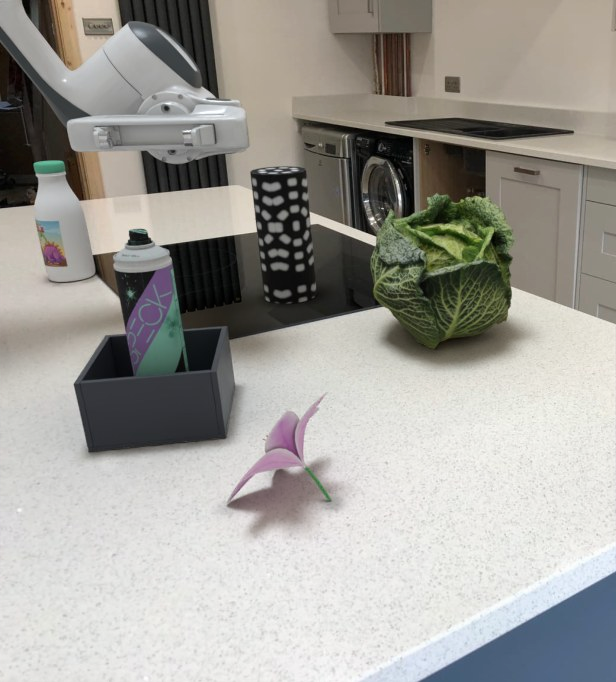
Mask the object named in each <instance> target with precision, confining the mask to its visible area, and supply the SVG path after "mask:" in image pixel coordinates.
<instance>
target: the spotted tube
mask: <svg viewBox="0 0 616 682" xmlns="http://www.w3.org/2000/svg"><path fill="white" fill-rule="evenodd" d="M249 172H250V173H249V174H250V182H251V191H252V201H253V209H254V210H253V211H254V217H255V218H254V219H255V227H256V236H257V244H258V246H257V247H258V253H259V262H260V263H259V264H260V270H261V281H262V290H263V298H264V300H266V301H267V302H269V303H273V304H283V305H286V304H289V305H290V304H298V303H302V302H307V301H310V300H312V299H314V298H316V296H317V295H318V293H317V283H316V271H315V258H314V246H313V235H312V224H311V211H310V199H309V187H308V186H309V185H308V177H307V176H308V175H307V168H306V167H302V166H294V165H293V166H291V165H284V166H282V165H281V166H266V167H260V168H255V169H254V168H253V169H252V170H250V171H249Z"/></svg>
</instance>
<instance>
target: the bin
mask: <svg viewBox="0 0 616 682" xmlns="http://www.w3.org/2000/svg"><path fill="white" fill-rule="evenodd" d="M228 327H229V326H227V325H222V326H209V327H196V328H184V329H183V328H182V329H183V336H184V342H185V348H186V355H187V361H188V368H189V372H179V373H168V374H156V375H145V376H134V374H133V368H132V363H131V357H130V352H129V347H128V341H127V336H126V333H119V334H118V333H117V334H116V333H115V334H105V336H104V337H103V338H102V339H101V341H100V343H99V345H98V346H97V347H96V349H95V351H94V352H93V353H92V354H91V356H90V358H89V360H88V361H87V363H86V364H85V365H84V367H83V368H82V370H81V372H80V373H79V375H78V376H77V378H76V380H75V381H74V383H73V388H74V392H75V393H74V394H75V397H76V402H77V407H78V411H79V415H80V420H81V425H82V428H83V433H84V438H85V443H86V447H87V450H88V453H93V452H102V451H112V450H120V449H133V448H141V447H150V446H151V447H152V446H162V445H169V444H170V445H171V444H180V443H181V444H182V443H189V442H191V443H192V442H198V441H199V442H200V441H209V440H217V439H218V440H220V439H227V434H228V428H229V422H230V418H231V411H232V404H233V399H234V393H235V387H236V381H235V373H234V365H233V359H232V358H233V356H232V350H231V343H230V337H229V336H230V334H229V328H228Z"/></svg>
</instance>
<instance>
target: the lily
mask: <svg viewBox="0 0 616 682" xmlns="http://www.w3.org/2000/svg"><path fill="white" fill-rule="evenodd" d="M328 393H329V390H328V391H327V392H325V393H324V394H323V395H321V396H320V397H319V398H318V399H317V400H316V401H315V402H314V403H313V404H312V405H310V407H309V408H308V409H307V410H306V411H305V413H304V414H303V415H302V416H301V418H299V415H298V414H297V413H295V412H294V411H292V410H287V411H285V412H284V413H283V414H282V415H281V416H280V417H279V418H278V420H277V421H276V422H275V423H274V425H273V426H272V428H271V429H270V432H269V433H268V434H267V435H266V436H265V437H266V438H262V440H263V441H265V442H264V452H265V453H264V454H263V455H262V456H261V457H260V458H259V459H258V460H257V461H256V462H255V463H254V464H253V465H252V466H251V467H250V468H249V469H248V470H247V472H246V473H245V474H244V475H243V476H242V478H241V479H240V481H239V482H238V483H237V485H236V486H235V487H234V488H233V490H232V492H231V494H230V496H229V497H228V499H227V501H226V505H228V504H229V503H230V502H231V501H232V500H233V499H234V498H235V496H236V495H237V494H238V493H239V492H240V491H241V489H242V488H243V487H244V486H245V485H246V484H247V483H248V482H249V481H250V480H251V479H252V478H253V477H254V476H255V475H257V474H260V473H265V472H271V471H277V470H283V469H289V468H294V467H301V468H303V469H304V470H305V472H307V474H308V475H309V476H310V477H311V479H312V480H313V481H314V482H315V484H316V485H317V487H318V488H319V490H320V491H321V492H322V494H323V495H324V497H325V498H326V500H327V501H328V502H329V501H331V500H332V498H331V496H330V495H329V494H328V492H327V490H326V489H325V488H324V486H323V485H322V484H321V482H320V480H319V479H318V477H316V475H315V474H314V473H313V472H312V470H311V469H310V468H309V467H308V465H307V464H306V463H305V457H304V447H305V446H304V444H305V443H304V442H305V434H306V429H307V424H308V423H309V420H310V419H311V418H312V417H313V416H314V415H315V414H317V412H319V410H320V407H318V406H319V405H320V403H321V402H322V400H323V399H325V397H326V396H327V394H328Z"/></svg>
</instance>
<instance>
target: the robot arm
mask: <svg viewBox="0 0 616 682" xmlns="http://www.w3.org/2000/svg"><path fill="white" fill-rule="evenodd" d="M0 44H1V45H2V46H3V47H4V49H5V50H6V51H7V53H9V55H10V56H11V57H12V58H13V60H14V61H15V62H16V63H17V65H18V66H19V67H20V69H22V71H23V72H24V73H25V74H26V76H27V77H28V78H29V79H30V81H31V82H32V83H33V84H34V86H35V87H36V88H37V89H38V91H39V92H40V93H41V95H42V96H43V98H44V99H45V101H46V102H47V104H48V105H49V106H50V108H51V110H52V111H53V112H54V114H55V115H56V117H57V118H58V120H59V121H60V122H61V124H62V125H63V126H64V127H65V128H66V130H67V137H68V141H69V145H70V148H71V149H72V150H73V151H75V152H77V153H101V152H102V153H103V152H104V153H105V152H107V153H109V152H144V151H147V152H148V153H149V154H150V155H151V156H153V157H154V158H155V159H157V160H159V161H161V162H163V163H166V164H172V165H183V164H186V163H189V162H192V161H194V160H196V161H197V160H201V159H203V158H207V157H211V156H220V155H229V154H239V153H240V154H241V153H244V152H245V151H246V150H247V149H248V148H250V135H249V134H250V133H249V126H248V125H249V124H248V117H247V111H246V109H244V108H243V105H242V102H241V101H240V100H238V99H230V98H217V97H216V96H215V95H214V93H211V91H209V90H208V89H206V88H205V87H203V79H202V74H201V70H200V67H199V66H198V64H197V63H196V61H195V60H194V59H193V57H192V56H191V55H190V54H189V52H188V51H187V50H186V48H185V47H184V46H183V45H182V44H181V43H180V42H179V41H178V40H177V39H176V38H175V37H174V36H172V35H171V34H170V33H169V32H167V31H166V30H164V29H163V28H161V27H159V26H157V25H155V24H151V23H148V22H143V21H138V20H137V21H136V20H133V21H131V20H130V21H128V22H127V23H126V24H125V25H124V26H122V27H121V28H120V29H118V30H117V32H116V33H114V34H113V35H112V36H111V37H110V38H109V39H108V40H107V41H105V42H104V43H103V44H102V46H100V48H98V49H97V50H96V51H95V52H94V53H93V54H92V55H91V56H90V57H89V58H87V60H85V61H84V62H83V63H82V64H81V65H79V67H77V68H75V69H74V70H72V69H69V68H68V67H67V66H66V64H65V63H64V62H63V60H62V59H61V58H60V56H59V55H58V54H57V52H56V51H54V48H52V47H51V45H50V43H48V41H47V40H46V39H45V37H44V36H43V34H41V32H40V30H38V28H37V27H36V25H34V23H33V22H32V20H31V19H30V18H29V15H28V14H27V13H26V10H25V8H24V5H23V0H0Z"/></svg>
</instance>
